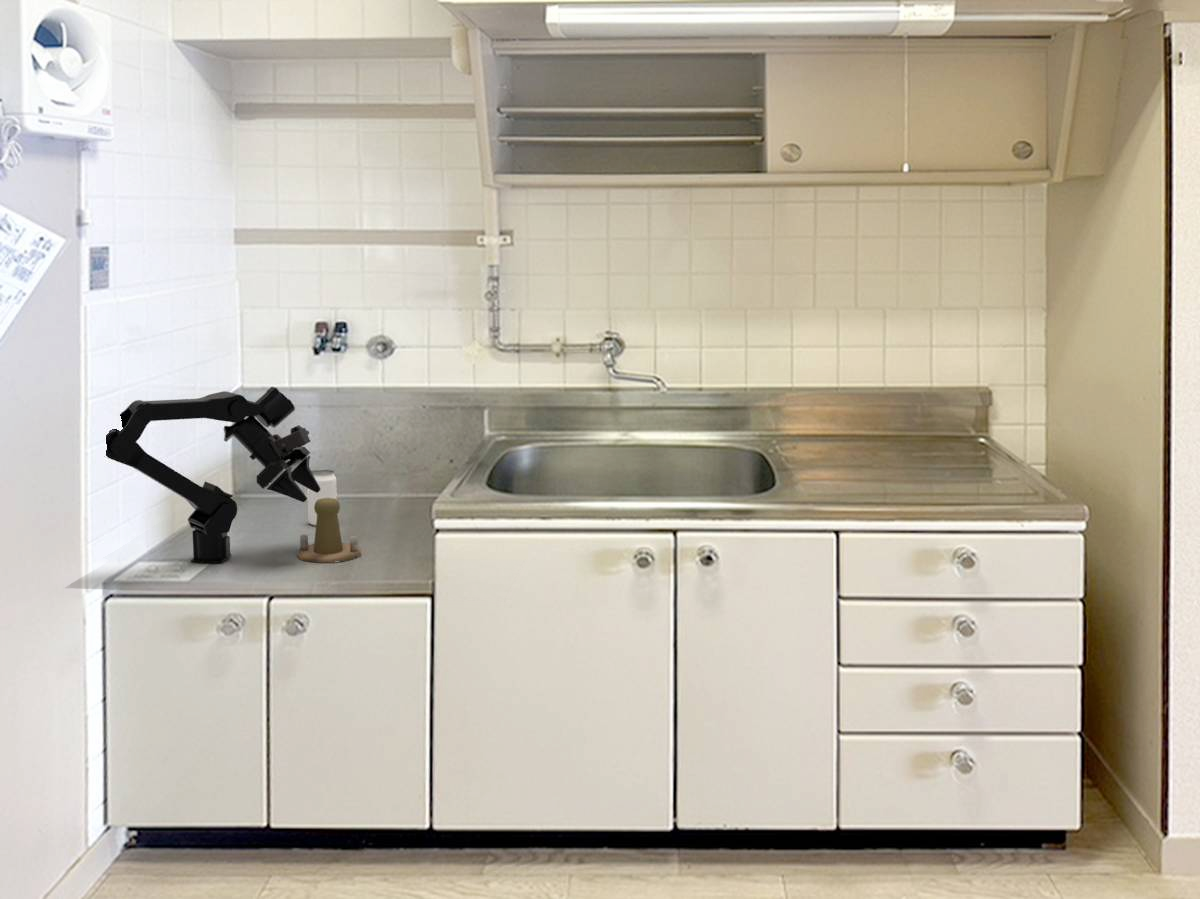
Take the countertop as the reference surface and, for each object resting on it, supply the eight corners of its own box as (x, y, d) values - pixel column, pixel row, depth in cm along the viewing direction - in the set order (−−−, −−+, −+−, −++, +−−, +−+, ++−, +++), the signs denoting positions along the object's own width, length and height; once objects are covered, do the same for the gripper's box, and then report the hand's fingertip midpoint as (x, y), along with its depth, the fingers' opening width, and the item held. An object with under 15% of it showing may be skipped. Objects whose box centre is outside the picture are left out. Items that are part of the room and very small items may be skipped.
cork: (329, 545, 302) (328, 494, 300) (348, 550, 299) (347, 498, 297) (307, 550, 298) (305, 499, 296) (326, 555, 294) (325, 503, 292)
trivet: (289, 561, 293) (289, 542, 292) (307, 546, 305) (307, 528, 305) (352, 563, 292) (351, 544, 291) (367, 548, 304) (367, 529, 304)
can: (343, 522, 327) (342, 471, 325) (323, 528, 322) (322, 475, 320) (322, 518, 331) (320, 468, 328) (302, 524, 325) (300, 472, 323)
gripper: (269, 422, 285) (325, 478, 285) (299, 408, 303) (351, 461, 304) (233, 460, 287) (288, 515, 288) (264, 443, 305) (316, 496, 306)
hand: (312, 495), depth 296 cm, fingers open, 9 cm apart
